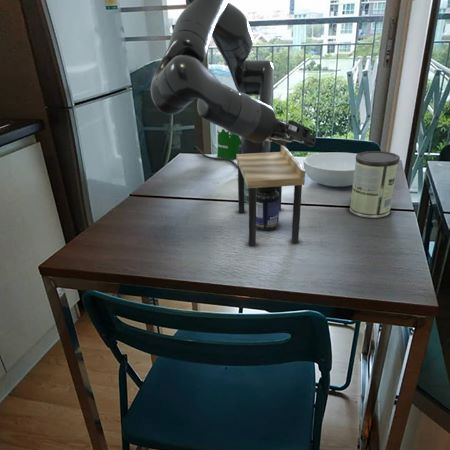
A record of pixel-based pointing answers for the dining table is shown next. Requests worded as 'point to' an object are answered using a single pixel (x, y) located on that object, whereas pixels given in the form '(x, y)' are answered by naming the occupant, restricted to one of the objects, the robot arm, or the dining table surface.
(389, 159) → the coffee can
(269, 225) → the pill bottle
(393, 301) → the dining table surface
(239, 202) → the shelf riser
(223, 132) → the milk carton
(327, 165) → the serving bowl
